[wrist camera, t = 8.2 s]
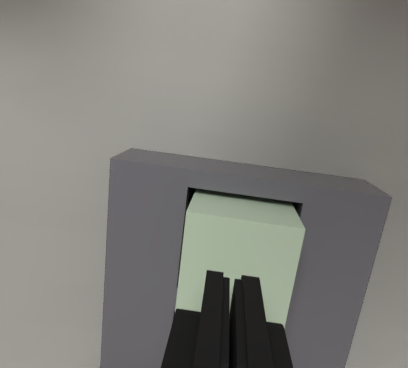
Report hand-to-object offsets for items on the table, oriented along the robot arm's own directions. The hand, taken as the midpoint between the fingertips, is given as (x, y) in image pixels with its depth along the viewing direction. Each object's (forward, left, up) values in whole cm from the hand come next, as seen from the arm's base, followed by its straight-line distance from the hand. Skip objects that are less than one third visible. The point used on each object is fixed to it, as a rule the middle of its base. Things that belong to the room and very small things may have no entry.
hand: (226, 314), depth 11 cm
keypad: (-4, +5, -8) cm, 10 cm away
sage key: (0, 0, -6) cm, 6 cm away
